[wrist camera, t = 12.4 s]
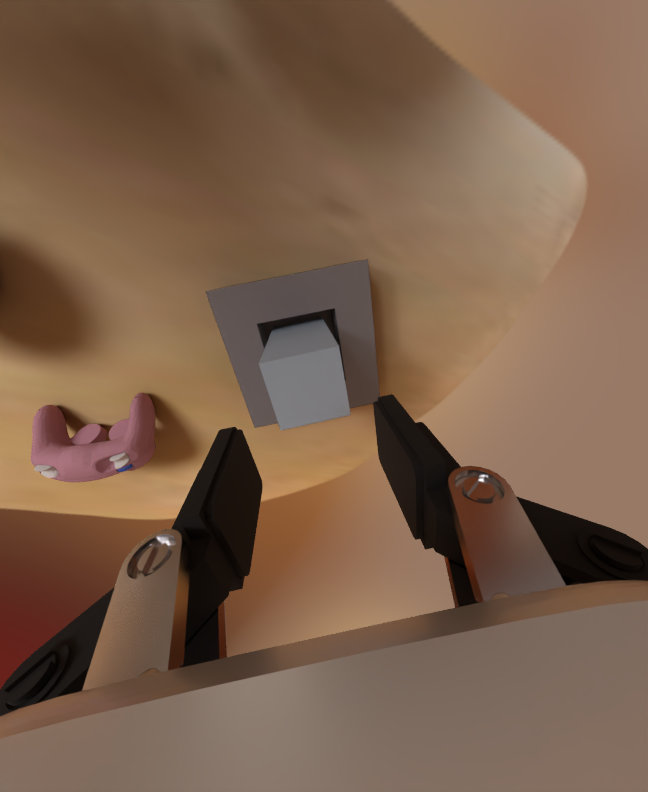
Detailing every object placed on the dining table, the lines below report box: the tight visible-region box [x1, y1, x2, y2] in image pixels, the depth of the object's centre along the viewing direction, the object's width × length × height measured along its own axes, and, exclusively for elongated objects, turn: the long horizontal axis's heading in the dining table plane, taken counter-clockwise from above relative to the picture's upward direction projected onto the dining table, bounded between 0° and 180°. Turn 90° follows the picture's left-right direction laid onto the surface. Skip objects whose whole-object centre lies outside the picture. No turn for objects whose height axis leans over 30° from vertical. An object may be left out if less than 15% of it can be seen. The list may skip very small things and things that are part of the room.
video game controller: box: [31, 393, 156, 482], centre depth 23 cm, size 10×5×7 cm, turn 96°
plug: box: [259, 317, 351, 430], centre depth 19 cm, size 4×4×10 cm
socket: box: [206, 259, 380, 428], centre depth 22 cm, size 12×12×3 cm
